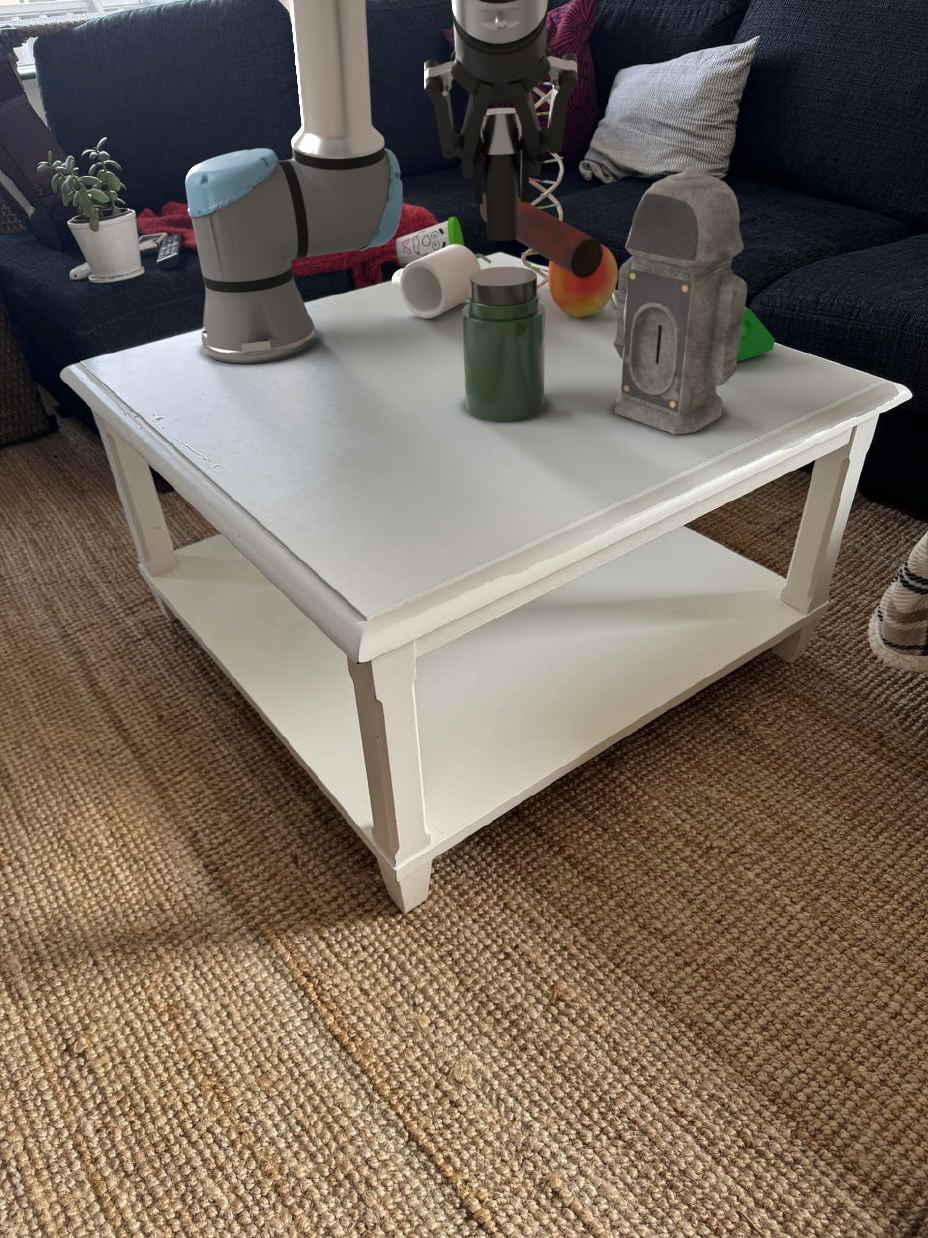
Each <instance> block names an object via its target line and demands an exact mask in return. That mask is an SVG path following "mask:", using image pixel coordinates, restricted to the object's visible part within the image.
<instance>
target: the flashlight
mask: <svg viewBox="0 0 928 1238" xmlns="http://www.w3.org/2000/svg"><path fill="white" fill-rule="evenodd" d="M522 134H523V131H522V128H521V124H520V120H519V117H518V114H516V111H515V107H496V108H488V109H487V113H486V116H484V120H483V124H482V127H481V131H480V135H479V136H480V138H481V154H482V155H483V154H484V164H485V165H484V167H485V194H486V209H487V222H486V238H487V240H489V241H495V242H507V241H512V240H513V241H514V240H516V238H517V237H518V198H519V184H518V183H519V172H518V171H519V166H518V165H519V163H518V162H519V160H518V159H519V157H518V153H521V150H522V136H523V135H522Z"/></svg>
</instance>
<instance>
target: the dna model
mask: <svg viewBox="0 0 928 1238" xmlns="http://www.w3.org/2000/svg"><path fill="white" fill-rule="evenodd" d="M541 83H542V84H543V85H545V86H553V85H552V84H551V83H550V81H546V82H542V81H541V82H540V83H539V84H538V85H541ZM532 91H533V92H535V93H536V94H537V95H539V96H540V97H541V98H540V99H539V100H538V101H537V102H536V103H534V105H535V109H536V110H537V109H538V108H539V107H540V106H542V105H543V104H544V103H545V102H547V103H548V104H549V105H550V103H551V95H552V89H550V90H549V92H547V94H546V93H545V92H543V91H542V90H540V89H539V88H538V87H537V86H536V87H535V88H534V89H533V90H532ZM549 112H550V111H544V112H542V113H541V112H536V113H537V116H544V115H549ZM547 152H548V153H549V154H550V155H551V156H552V157H553V159H547V160H544V164H546V163H553V162H557V163H558V165H559V172H558V174H557V175H558V176H557V179H556V181H555V180H554V181H553V180H541V179H536V178H531V177H530V176H529V184H531V185H532V186H533V187H535V188H536V189H537V190H539V191H540V192H542V193H540V196H539V197H537V198H536V199H534V200H533V201H532V202H530V204H531V205H533V206H536V205H537V204H538V203H540V202H541V201H543V200H544V199H546V198H548V199H549V200H550V201H551V202H552V203H553V204H550V205H549V204H548V205H544V206H537V208H538V209H540V210H542V209H548V208H555V207H556V209H557V212H558V219H559V220H561V221H562V222H563V219H564V218H563V217H564V212H563V208H562V205H561V202H560V201H558V200H557V198H556V197H555V196H554V195H553V194H552V193H553V191H554V190H555V189H556V188H557V187H558V185H560V184H561V182H562V179H563V175H564V169H565V168H564V164H563V159H564V156H560V155H558V153H555V154H553V153H550V152H549V151H547ZM541 182H543V183H545V184H552V185H551V186H550V187H549V188H548V189H547V188H545V187H543V186H542V185H541V184H540V183H541ZM532 255H540V254H539V253H537V252H536V251H534V250H532V249H531V248H528V249H527V250H526V251H524V252H521V262H522V263H523V265H524V267H527V269H529V270H532V271H534V272H535V273H536V274H537V275H539V276H541V277H542V278H543V280H542V281H540V282H539V283H537V290H539V289H540V288H542V287H543V286H544V285H546V284H548V274H547V273H548V269H544V268H542V267H538V266H533V265H532V264H531V263H530V262H528V261H527V260H526V257H527V256H532Z"/></svg>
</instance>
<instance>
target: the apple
mask: <svg viewBox="0 0 928 1238" xmlns="http://www.w3.org/2000/svg"><path fill="white" fill-rule="evenodd" d="M600 244H601V246H602V248H603V257H602V261H601V264H600V266H599V267H598V269H597V270H596V272H594V273H593V274H592V275H591V276H588V277H586V278H580V277H577V276H575V275H574V274H572V273H570V272H569V271H567V270H565V269H564V268H562V267H560V266H559V265H557V264H555V263H554V262H552V261H550V260H549V263H548V269H547V270H548V272H547V276H548V282H547V285H548V290H549V294H550V297H551V299H552V300H553V302H554V304H555V305H556V307H557V308H559V309H560V310H561V311H562V312H564V313H565V314H566V315H568V316H571V317H573V318H582V317H588V316H591V315H594V314H597V313H599V312H600V311H601V310H603V309H604V308H605V306H606V305H607V304H608V303H609V301H610V299H611V298H612V297H613V296H612V294H613V292H614V290H615V291H616V286H617V284H618V283H617V282H618V278H619V269H618V265H617V261H616V258H615V256H614V254H613V253H612V252H611V250H610V249H609V248H608V247H606V246H605V245H604V244H602V243H600Z"/></svg>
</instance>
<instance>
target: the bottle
mask: <svg viewBox="0 0 928 1238" xmlns="http://www.w3.org/2000/svg"><path fill="white" fill-rule="evenodd" d="M537 285H538V273H537V272H535V271H533V270H532V269H530V268H525V267H519V266H494V267H487V268H483V269H482V268H481V270H479V271H476V272H474V273H472V274H471V275H470V276H469V289H470V294H469V295H468V300H467V304H466V305H464V307H463V308H462V310H461V321H462V322H461V323H462V345H463V346H462V347H463V368H464V369H463V370H464V390H465V394H464V395H465V408H466V411H467V412H468V413H469V414H470V415H471V416H473V417H476V418H478V419H480V420H484V421H492V422H513V421H514V422H515V421H520V420H525V419H528V418H529V419H530V418H531V417H534V416H536V415H538V414H539V413H541V411H542V410H543V409H544V407H545V365H546V364H545V363H546V362H545V359H546V357H545V356H546V355H545V354H546V349H545V348H546V307H545V305H544V303H542V302H540V295H539V292H538V289H537Z"/></svg>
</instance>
